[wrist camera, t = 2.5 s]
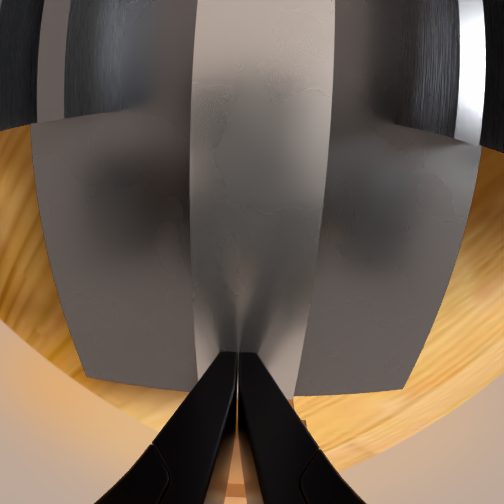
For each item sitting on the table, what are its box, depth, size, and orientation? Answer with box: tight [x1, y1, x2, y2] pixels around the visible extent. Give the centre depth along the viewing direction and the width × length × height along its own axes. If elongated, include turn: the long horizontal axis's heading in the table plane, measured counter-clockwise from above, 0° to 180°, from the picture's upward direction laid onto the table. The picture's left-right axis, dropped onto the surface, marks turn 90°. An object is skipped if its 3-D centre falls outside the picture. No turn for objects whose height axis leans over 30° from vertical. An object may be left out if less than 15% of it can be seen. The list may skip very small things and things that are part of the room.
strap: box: [190, 0, 335, 400], centre depth 6 cm, size 14×3×1 cm, turn 177°
